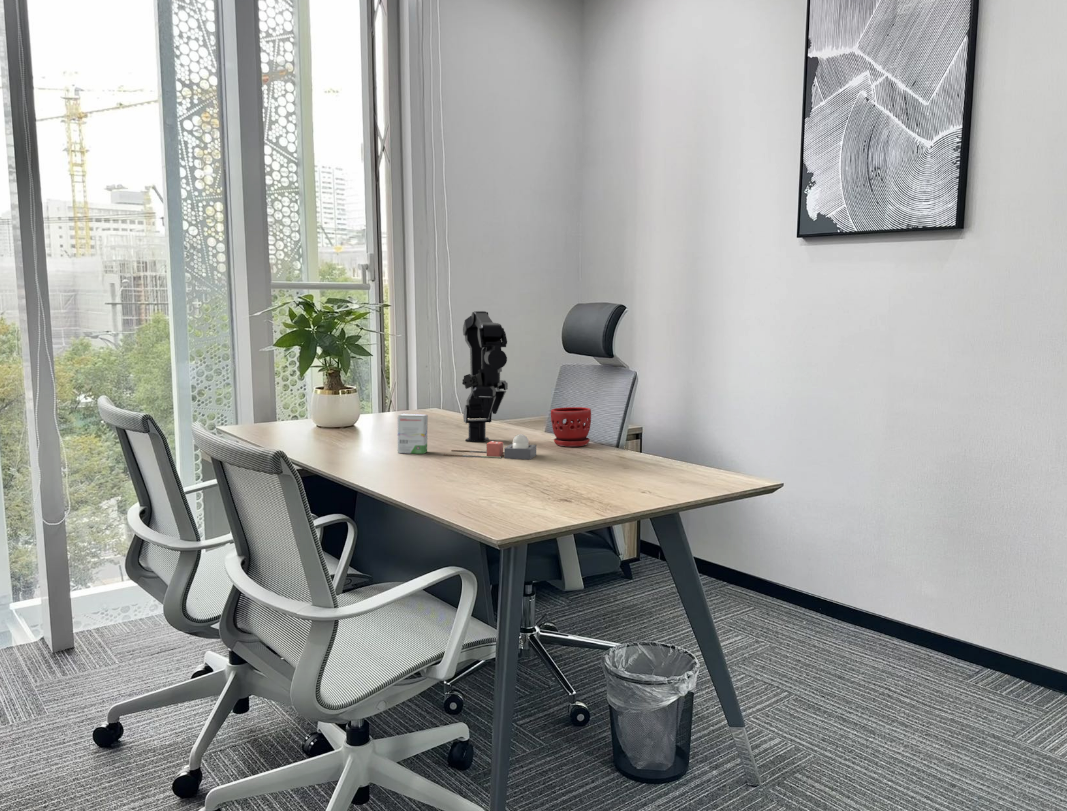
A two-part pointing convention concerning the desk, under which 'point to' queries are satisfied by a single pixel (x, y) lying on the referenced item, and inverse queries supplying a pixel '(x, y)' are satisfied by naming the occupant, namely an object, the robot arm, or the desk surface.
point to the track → (471, 455)
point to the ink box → (412, 433)
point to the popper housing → (519, 452)
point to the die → (494, 449)
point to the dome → (520, 441)
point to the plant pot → (571, 426)
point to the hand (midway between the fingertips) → (490, 416)
